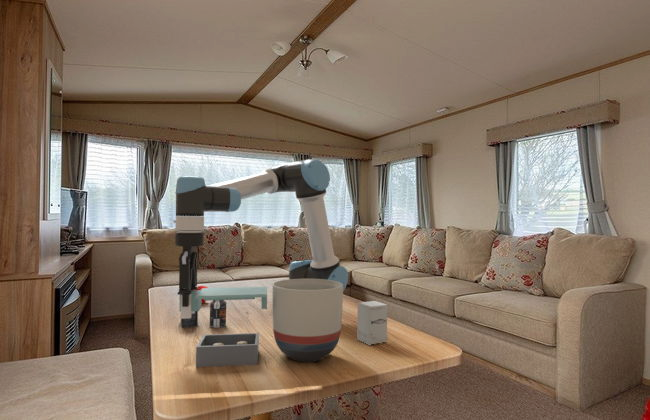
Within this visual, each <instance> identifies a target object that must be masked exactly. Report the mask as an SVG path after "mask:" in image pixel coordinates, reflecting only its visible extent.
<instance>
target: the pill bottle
mask: <svg viewBox="0 0 650 420" xmlns="http://www.w3.org/2000/svg"><path fill="white" fill-rule="evenodd" d="M226 325H227V302H226V300H211V301H210V303H209V327H210V328H215V329H217V328H223V327H226Z"/></svg>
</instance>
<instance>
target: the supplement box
mask: <svg viewBox="0 0 650 420" xmlns="http://www.w3.org/2000/svg"><path fill="white" fill-rule="evenodd" d="M356 320H357V321H356V322H357V323H356V325H357V326H356V330H357V332H356V337H357V338H356V340H357V339H358V341H359V340H360V341H359V342H361V341H362V343H363V342H364V343H363V344H365V343H366V344H365V345H367V344H368V345H367V346H369V345H370V346H372V345H371V344H374V345H376V344H375V343H380V344H382V343H381V342H386V341H387V340H388V304H386V303H383V302H379V301H376V300H372V301H371V300H370V301H360V302H357V319H356ZM387 342H388V341H387Z"/></svg>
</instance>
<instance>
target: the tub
mask: <svg viewBox="0 0 650 420" xmlns="http://www.w3.org/2000/svg"><path fill="white" fill-rule="evenodd" d="M259 335H260V333H259V332H251V333H250V332H249V333H248V332H247V333H245V332H244V333H217V334H216V333H215V334H214V333H213V334H203V335H202V336H201V338H200V339H199V342H198V343H197V345H196V346H195V347H196V348H195V368H204V367H205V368H207V367H208V368H209V367H210V368H211V367H229V366H233V367H234V366H256V365H258V360H259V350H260V349H259V348H260V347H259V346H260V343H259V342H260V340H259V339H260V336H259ZM240 341H246V342H247V344H243V345H237V342H240ZM215 343H223V344H224V345H214V346H213V344H215Z"/></svg>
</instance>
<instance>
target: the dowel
mask: <svg viewBox="0 0 650 420" xmlns="http://www.w3.org/2000/svg"><path fill="white" fill-rule="evenodd" d="M243 344H247V342H246V341H240V342H237V345H243Z"/></svg>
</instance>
